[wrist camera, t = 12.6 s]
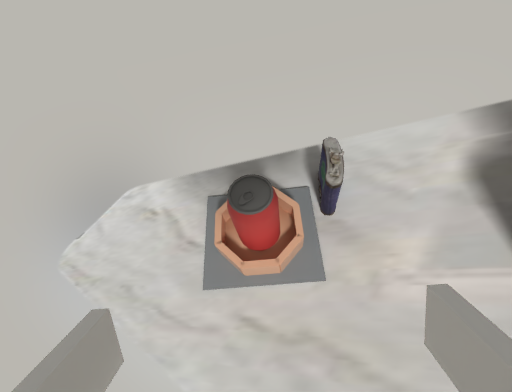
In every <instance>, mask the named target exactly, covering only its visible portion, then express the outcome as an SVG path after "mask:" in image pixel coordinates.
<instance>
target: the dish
mask: <svg viewBox="0 0 512 392" xmlns="http://www.w3.org/2000/svg"><path fill="white" fill-rule="evenodd" d="M272 187H273V186H272ZM273 188H274V190H275V192H276V194H277V196H278V203H279V217H280V236H279V239H278V241H277V242H276V243H275V245H273V246H272V247H271V248H269V249H266V250H263V251H255V250H251V249H249V248H247V247H246V246H245V245H244V244H243V243H242V242H241V240H240V238H239V236H238V233H237V231H236V229H235V226H234V224H233V222H232V220H231V217H230V215H229V212H228V209H227V201H226V202H225V203H224V204H223V205H222V206H221V207H220V208H219V209H218V210H217V211H216V213H215V239H214V245H215V246H216V248H217V249H218V251H219V252H220V253H221V254H222V255H223V256H224V257H225V258H226V259H227V260H228V261H229V262H230V263H231V264H232V265H234V266H235V267H236V268H237V269H238V270H239V271H240V272H241V273H242V274H243V275H245V276H249V275H262V274H275V273H280V272H282V271H283V270H284V269H285V267H286V266H287V265H288V264H289V263H290V261H291V260H292V259H293V258H294V257H295V255H296V254H297V253H298V252H299V251H300V249H301V248H302V247H303V241H304V233H303V226H302V220H301V213H300V207H299V204H298V203H297V202H296V201H294V200H293V199H291V198H290V197H288V196H287V195H285V194H284V193H282V192H281V191H279V190H278V189H276V188H275V187H273Z"/></svg>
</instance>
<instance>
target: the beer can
mask: <svg viewBox="0 0 512 392" xmlns="http://www.w3.org/2000/svg"><path fill="white" fill-rule="evenodd" d="M227 209H228V212H229V215H230V217H231V220H232V222H233V224H234V226H235V229H236V231H237V233H238V236H239V238H240V240H241V242H242V243H243V244H244V245H245V246H246V247H247V248H249V249H251V250H255V251H263V250H266V249H269V248H271V247H272V246H273V245H275V243H276V242H277V241H278V239H279V236H280V217H279V203H278V196H277V194H276V192H275V190H274V188H273V187H272V185H271V183H270V182H269V181H268V180H267V179H265V178H264V177H262V176H259V175H246V176H243V177H240V178H239V179H237V180H235V181H234V182H233V184H232V185H231V186H230V188H229V190H228V199H227Z"/></svg>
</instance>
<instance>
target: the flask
mask: <svg viewBox="0 0 512 392" xmlns="http://www.w3.org/2000/svg"><path fill="white" fill-rule="evenodd" d="M341 151H342V152H341ZM343 154H344V151H343V149H341V148H340V145H339V143H338V141H337V140H336V139H335V138H332V137H329V138H326V139H324V140H323V144H322V152H321V160H320V166H319V172H318V180H319V184H320V186H319V192H320V194H321V197H320V199H321V203H320V210H321V212H322V213H323V214H324V215H332V214H333V213H334V212H335V209H336V203H337V199H338V196H339V192H340V188H341V185H342V182H343V174H344V161H343Z"/></svg>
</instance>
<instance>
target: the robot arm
mask: <svg viewBox="0 0 512 392" xmlns="http://www.w3.org/2000/svg"><path fill="white" fill-rule="evenodd" d="M424 344H425V345H426V347H427V348H428V349H429V351H430V352H431V353H432V355H433V356H434V358H435V359H436V360H437V362H438V363H439V364H440V366H441V367H442V369H443V370H444V371H445V373H446V374H447V375H448V377H449V378H450V380H451V381H452V382H453V384H454V385H455V386H456V388H457V389H458V391H459V392H512V339H511V338H510V337H508V336H507V335H506V334H505V333H504V332H503V331H502V330H500V329H499V328H498V327H497V326H496V325H495V324H493V323H492V322H491V321H490V320H489V319H488V318H486V317H485V316H484V315H483V314H482V313H481V312H479V311H478V310H477V309H476V308H475V307H474V306H472V305H471V304H470V303H469V302H468V301H467V300H466V299H464V298H463V297H462V296H461V295H460V294H459V293H457V292H456V291H455V290H454V289H453V288H452V287H450V286H449V285H448V284H438V285H427V296H426V318H425V340H424ZM123 362H124V359H123V356H122V353H121V349H120V346H119V342H118V339H117V335H116V332H115V328H114V325H113V321H112V318H111V314H110V311H109V309H95V310H91V311H90V312H89V313H88V314H87V315H86V316H85V317H84V318H83V320H82V321H80V323H79V324H78V325H77V326H76V327H75V328H74V329H73V330H72V331H71V332H70V333H69V334H68V335H67V336H66V337H65V338H64V339H63V340H62V341H61V342H60V343H59V344H58V345H57V346H56V347H55V348H54V349H53V350H52V351H51V352H50V353H49V354H48V355H47V356H46V357H45V358H44V359H43V360H42V361H41V362H40V363H39V364H38V365H37V366H36V367H35V368H34V370H32V371H31V372H30V374H28V376H27V377H26V378H25V379H24V380H23V381H22V382H21V383H20V384H19V385H18V386H17V387H16V388H15V389H14V390H13V391H12V392H105V390H106V389H107V387H108V386H109V384H110V382H111V381H112V379H113V377H114V376H115V374H116V373H117V371H118V370H119V368H120V366H121V365H122V363H123Z"/></svg>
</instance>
